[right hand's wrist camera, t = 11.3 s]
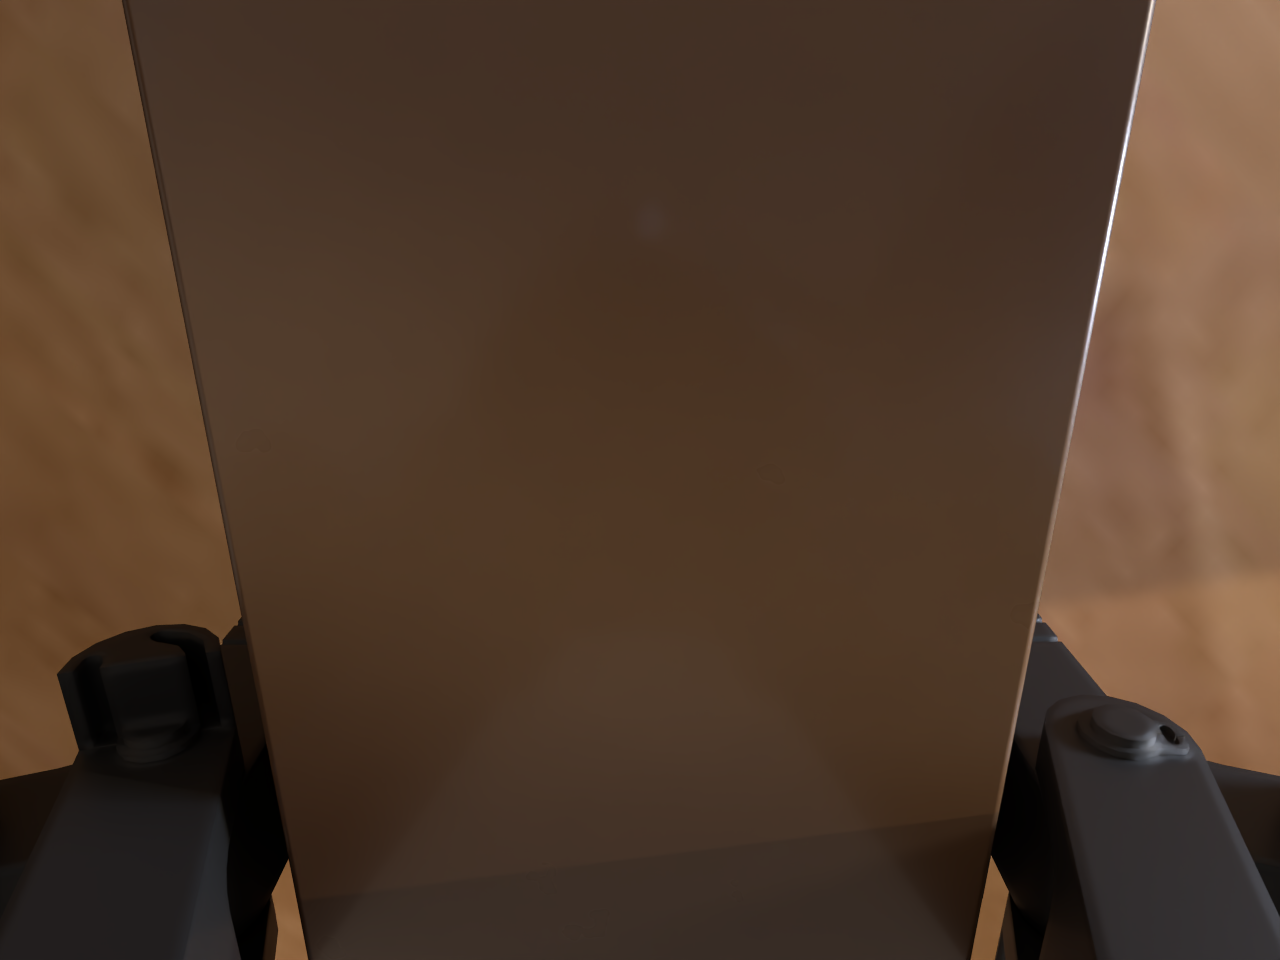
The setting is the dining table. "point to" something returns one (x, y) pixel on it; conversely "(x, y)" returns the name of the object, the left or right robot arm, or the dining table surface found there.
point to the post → (639, 444)
